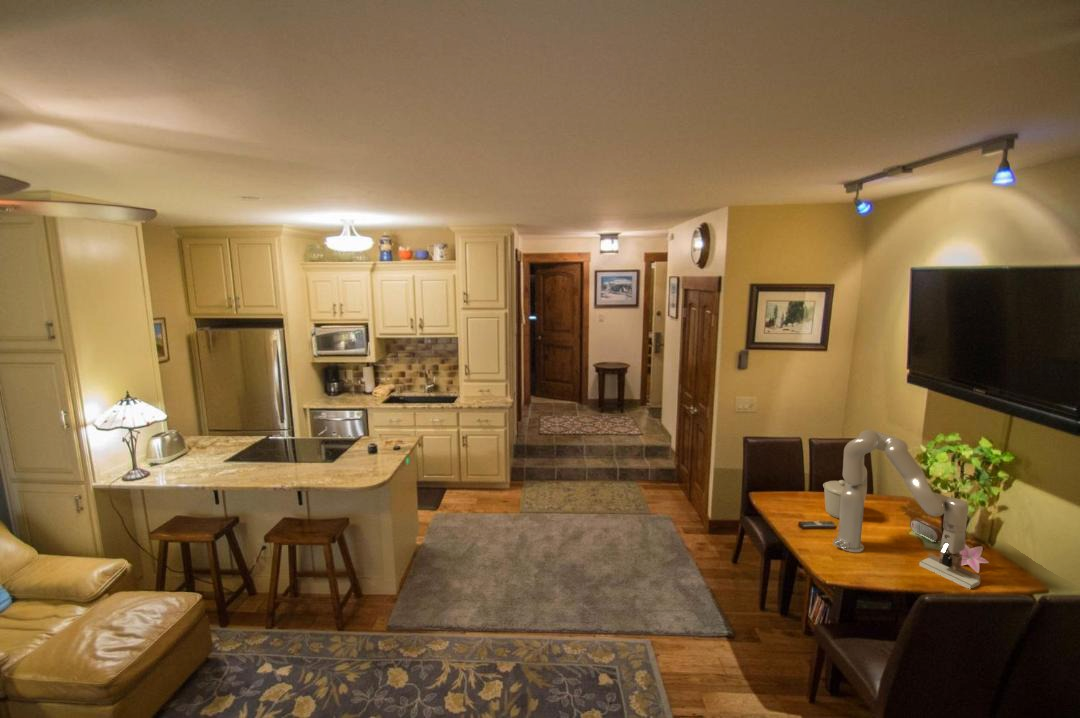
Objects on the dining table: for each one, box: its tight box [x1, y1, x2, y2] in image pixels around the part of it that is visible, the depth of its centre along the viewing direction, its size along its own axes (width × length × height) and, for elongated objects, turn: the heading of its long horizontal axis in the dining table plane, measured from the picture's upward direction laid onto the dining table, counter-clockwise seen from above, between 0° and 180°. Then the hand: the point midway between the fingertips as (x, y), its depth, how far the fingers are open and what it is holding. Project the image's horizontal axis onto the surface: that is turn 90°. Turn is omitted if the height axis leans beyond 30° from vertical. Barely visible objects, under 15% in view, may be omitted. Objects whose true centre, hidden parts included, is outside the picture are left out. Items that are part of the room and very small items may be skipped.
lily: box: [960, 543, 990, 574], centre depth 213 cm, size 12×12×10 cm
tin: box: [909, 517, 943, 543], centre depth 237 cm, size 15×3×8 cm, turn 12°
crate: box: [939, 549, 963, 570], centre depth 206 cm, size 5×6×6 cm
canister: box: [822, 479, 845, 520], centre depth 260 cm, size 18×18×21 cm
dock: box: [918, 553, 982, 590], centre depth 207 cm, size 8×19×4 cm, turn 23°
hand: (949, 563), depth 206 cm, fingers closed on crate, 4 cm apart
